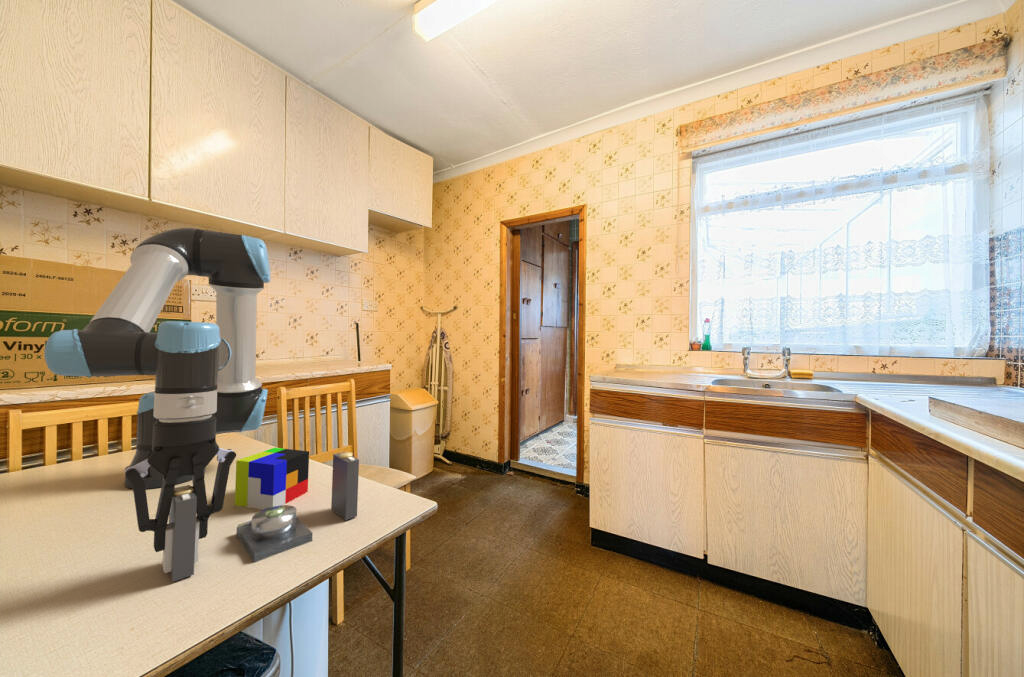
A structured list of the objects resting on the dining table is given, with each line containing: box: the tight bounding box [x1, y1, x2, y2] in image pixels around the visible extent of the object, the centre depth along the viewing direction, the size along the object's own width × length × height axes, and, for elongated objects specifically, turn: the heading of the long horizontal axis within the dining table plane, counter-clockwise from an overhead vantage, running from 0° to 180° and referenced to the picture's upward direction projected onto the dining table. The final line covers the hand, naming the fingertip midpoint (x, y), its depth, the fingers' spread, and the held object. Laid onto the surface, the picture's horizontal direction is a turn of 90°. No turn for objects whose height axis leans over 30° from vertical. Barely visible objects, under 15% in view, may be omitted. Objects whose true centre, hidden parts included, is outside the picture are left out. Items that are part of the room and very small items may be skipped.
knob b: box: [330, 451, 360, 521], centre depth 77 cm, size 7×3×13 cm, turn 49°
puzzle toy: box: [234, 447, 310, 510], centre depth 83 cm, size 10×10×10 cm
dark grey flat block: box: [168, 484, 197, 582], centre depth 57 cm, size 7×3×13 cm, turn 49°
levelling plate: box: [235, 504, 313, 563], centre depth 67 cm, size 12×9×5 cm
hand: (180, 563), depth 57 cm, fingers closed on dark grey flat block, 2 cm apart
